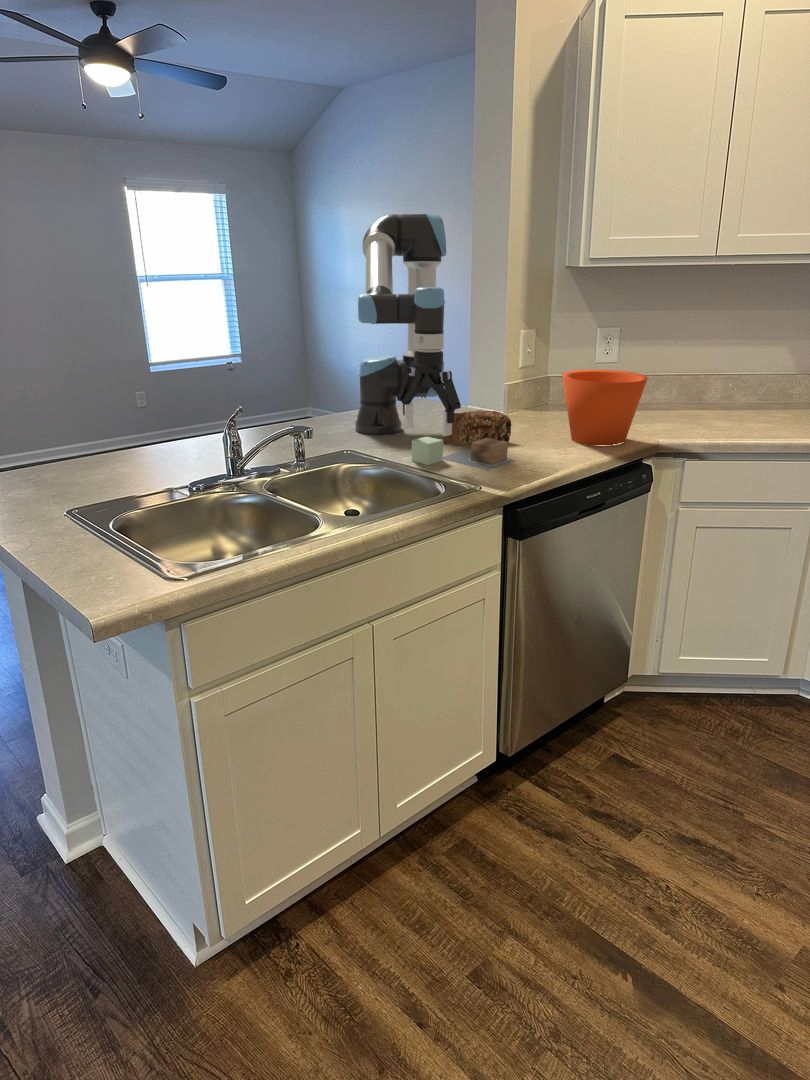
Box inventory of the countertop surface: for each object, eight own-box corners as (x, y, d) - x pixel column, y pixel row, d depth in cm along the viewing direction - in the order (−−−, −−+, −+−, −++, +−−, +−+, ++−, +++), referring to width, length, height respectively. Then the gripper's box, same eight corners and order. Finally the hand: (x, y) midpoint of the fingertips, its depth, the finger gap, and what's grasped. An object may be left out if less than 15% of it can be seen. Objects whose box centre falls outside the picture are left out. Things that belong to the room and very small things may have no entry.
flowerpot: (571, 427, 246) (576, 367, 239) (648, 436, 235) (656, 373, 228) (545, 443, 226) (550, 377, 219) (628, 454, 215) (636, 385, 207)
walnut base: (470, 460, 203) (471, 442, 201) (486, 455, 208) (487, 437, 206) (491, 465, 199) (492, 446, 197) (506, 459, 204) (507, 442, 202)
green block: (411, 465, 203) (411, 440, 200) (426, 461, 207) (426, 436, 205) (428, 469, 199) (428, 443, 197) (442, 465, 203) (443, 440, 201)
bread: (458, 451, 218) (459, 417, 215) (441, 443, 227) (441, 410, 223) (511, 444, 226) (513, 411, 222) (493, 437, 235) (494, 405, 231)
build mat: (437, 462, 206) (438, 457, 205) (466, 453, 214) (466, 449, 214) (487, 474, 195) (487, 469, 194) (515, 464, 204) (516, 459, 203)
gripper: (383, 347, 197) (384, 427, 205) (457, 355, 181) (455, 440, 189) (403, 345, 202) (402, 423, 210) (476, 352, 187) (473, 436, 194)
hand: (427, 431), depth 199 cm, fingers open, 13 cm apart
